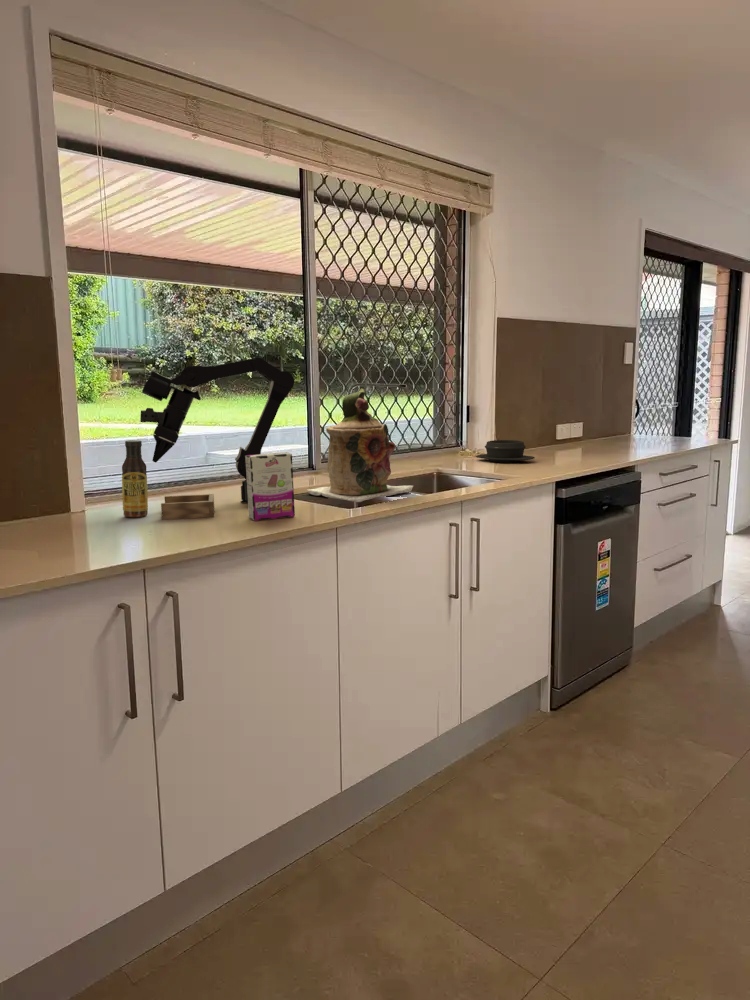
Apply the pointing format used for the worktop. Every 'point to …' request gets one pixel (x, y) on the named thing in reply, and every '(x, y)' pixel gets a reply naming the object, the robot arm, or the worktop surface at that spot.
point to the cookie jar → (358, 455)
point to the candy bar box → (270, 486)
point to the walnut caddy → (188, 506)
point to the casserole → (505, 451)
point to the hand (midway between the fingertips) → (154, 460)
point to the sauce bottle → (134, 481)
